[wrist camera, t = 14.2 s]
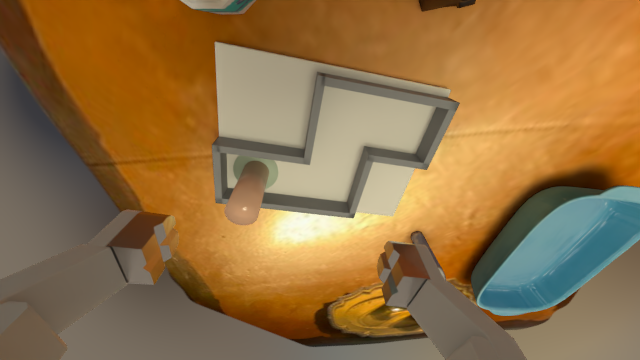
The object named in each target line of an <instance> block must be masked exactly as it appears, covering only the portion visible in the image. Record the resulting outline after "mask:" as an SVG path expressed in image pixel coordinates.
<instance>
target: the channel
mask: <svg viewBox="0 0 640 360" xmlns="http://www.w3.org/2000/svg"><path fill="white" fill-rule="evenodd" d="M215 59H216V81H217V103H218V125H219V137H218V138H217V139H216V141H215V142H214V143H213V144H212V153H213V169H214V185H215V200H216V203H221V204H227V203H228V201H229V198H230V196H231V194H232V192H233V190H234V188H235V186H236V183H237V181H238V180H237V179H236V177H235V175H234V172H233V165H234V162H235V160H236V159H237V157H238V156H240V155H241V156H248V157H255V158H262V159H269V160H274V161H275V163H276V164H277V167H278V177H277V180H276V182H275V183H274V184H273V185H272V186H271V187H269V188H266V189H265V192H264V195H263V199H262V203H261V207H260V208H266V209H274V210H283V211H292V212H301V213H310V214H319V215H328V216H337V217H346V218H354V216H355V213H356V212H359V213H368V214H377V215H385V216H393V215H394V213H395V211H396V209H397V206H398V204H399V202H400V200H401V198H402V196H403V194H404V191H405V189H406V187H407V185H408V183H409V181H410V178H411V176H412V174H413V172H414V170H415V168H418V169H424V170H427V168H428V166H429V164H430V162H431V160H432V158H433V156H434V154H435V152H436V150H437V148H438V146H439V144H440V142H441V140H442V138H443V136H444V134H445V132H446V130H447V128H448V126H449V124H450V122H451V120H452V118H453V116H454V114H455V112H456V110H457V108H458V106H459V104H460V103H459V102H456V101H454V100H452V99H450V98H448V96H449V94H450V92H451V90H450V89H447V88H443V87H438V86H433V85H428V84H424V83H419V82H414V81H409V80H404V79H399V78H394V77H389V76H384V75H379V74H374V73H369V72H365V71H360V70H355V69H350V68H345V67H340V66H335V65H330V64H325V63H320V62H315V61H310V60H306V59H301V58H296V57H291V56H286V55H281V54H276V53H271V52H266V51H261V50H256V49H252V48H247V47H242V46H237V45H232V44H227V43H222V42H215Z"/></svg>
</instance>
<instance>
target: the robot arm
mask: <svg viewBox="0 0 640 360" xmlns="http://www.w3.org/2000/svg"><path fill="white" fill-rule="evenodd" d="M175 224H176V222H175V218H174V216H171V215H164V214H157V213H150V212H143V211H134V210H125V211H122V212H121V213H120V214H119V215H118V216H117V217H116V218H115V219H114V220H112V221H111V223H109V224H108V225H107V226H106V227H105V228H104V229H103V230H102V231H101V232H100V233H99V234H97V236H95V237H94V238H93V239H92V240H91V241H90V242H89V243H88V244H87V245H83V244H81V245H79V246H76V247H74V248H72V249H69V250H67V251H65V252H62V253H60V254H58V255H56V256H53V257H51V258H49V259H46V260H44V261H42V262H40V263H37V264H35V265H32V266H30V267H28V268H26V269H23V270H21V271H19V272H16V273H14V274H12V275H9V276H7V277H5V278H2V279H0V360H60V359H61V357H62V356H63V355H64V353H65V352H66V351H67V345H66V344H65V343H64V341H63V340H62V339H61V338H60V337H59V336H58V334H59V333H60V332H62V331H63V330H65V329H66V328H67V327H69V326H70V325H71V324H73V323H74V322H76V321H77V320H78V319H80V318H81V317H83V316H84V315H85V314H87V313H88V312H90V311H91V310H92V309H94V308H95V307H97V306H98V305H99V304H100V303H102V302H104V301H105V300H106V299H108V298H109V297H110V296H112V295H113V294H115V293H116V292H118V291H119V290H120V289H122V288H123V287H124V286H126V285H127V283H134V284H150V285H154V284H155V283H156V281H157V280H158V278H159V276H160V275H161V273H162V272H163V270H164V269H165V265H164V262H165V261H166V260H168V259H170V258H171V257H172V256H173V254H174V253H175V251H176V248H177V245H178V241H179V235H178V232H177V231H176V230H175V229H174V228H173V227H174V225H175ZM384 249H385V252H384V253H382V254H380V257H379V259H378V265H377V270H378V276H379V278H380V280H381V281H382V282H383V283H384V285H383V287H382V292H383V296H384V300H385V304H386V305H389V306H398V307H407V310H408V311H409V312H410V314H411V315H412V316H413V317H414V319H415V320H416V321H417V323H418V324H419V325H420V327H421V328H422V329H423V331H424V332H425V333H426V335H427V336H428V337H429V338H430V340H431V341H432V342H433V344H434V345H435V346H436V348H437V349H438V350H439V352H440V353H441V354H442V356H443V357H444V358H445V360H527V359H526V357H525V356H524V354H523V352H522V351H521V349H520V348H519V346H518V345H517V343H516V341H515V340H514V338H513V337H511V336H510V335H509V334H508V333H507V332H506V331H505V330H503V329H502V328H501V327H500V326H499V325H498V324H497V323H495V322H494V321H493V320H492V319H491V318H490V317H489V316H487V315H486V314H485V313H484V312H483V311H482V310H481V309H479V308H478V307H477V306H476V305H475V304H474V303H472V302H471V301H470V300H469V299H468V298H467V297H466V296H464V295H463V294H462V293H461V292H460V291H459V290H458V289H456V288H455V287H454V286H453V285H452V284H451V283H450V282H447V281H445V280H444V278H443V276H442V275H441V273H440V271H439V269H438V267H437V265H436V263H435V261H434V259H433V257H432V255H431V253H430V251H429V249H428V247H427V246H426V245H422V244H411V243H404V242H394V241H388V242H387V243H386V244H385V246H384Z"/></svg>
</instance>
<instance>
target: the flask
mask: <svg viewBox="0 0 640 360" xmlns="http://www.w3.org/2000/svg"><path fill="white" fill-rule="evenodd" d="M416 232H418V233H416ZM416 232H414V233H412V235H411V240H412V241H413V244H422V245H426V246H427V247H428V249H429V251H430V253H431V255H432V257H433V259H434V261H435V263H436V265H437V267H438V269H439V271H440V273H441V275H442V276H443V278H444V280H445V281H446V277H445V274H444V272H443V270H442V268H441V266H440V265H439V263H438V261H437V259H436V257H435V256H434V254H433V252H432V250H431V249H430V247H429V245H428V243H427V241H426V239H425V237H424V236H423V234H422V233H421V232H420V231H416Z"/></svg>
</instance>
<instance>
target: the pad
mask: <svg viewBox="0 0 640 360" xmlns="http://www.w3.org/2000/svg"><path fill="white" fill-rule="evenodd" d="M250 161H260V162H262V163H264V164H265V165H266V166H267V167H268V169H269V177H268V180H267V184H266V188H269V187H271V186H272V185H273V184H274V183H275V182H276V180H277V177H278V167H277V164H276V163H275V161H274V160H269V159H262V158H255V157H248V156H241V155H240V156H238V157H237V159H236V160H235V162H234V165H233V172H234V175H235V177H236V179H237V180H238V179H239V177H240V175H241V173H242V170H243V168H244V166H245V165H246V164H247V163H248V162H250ZM266 188H265V189H266Z"/></svg>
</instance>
